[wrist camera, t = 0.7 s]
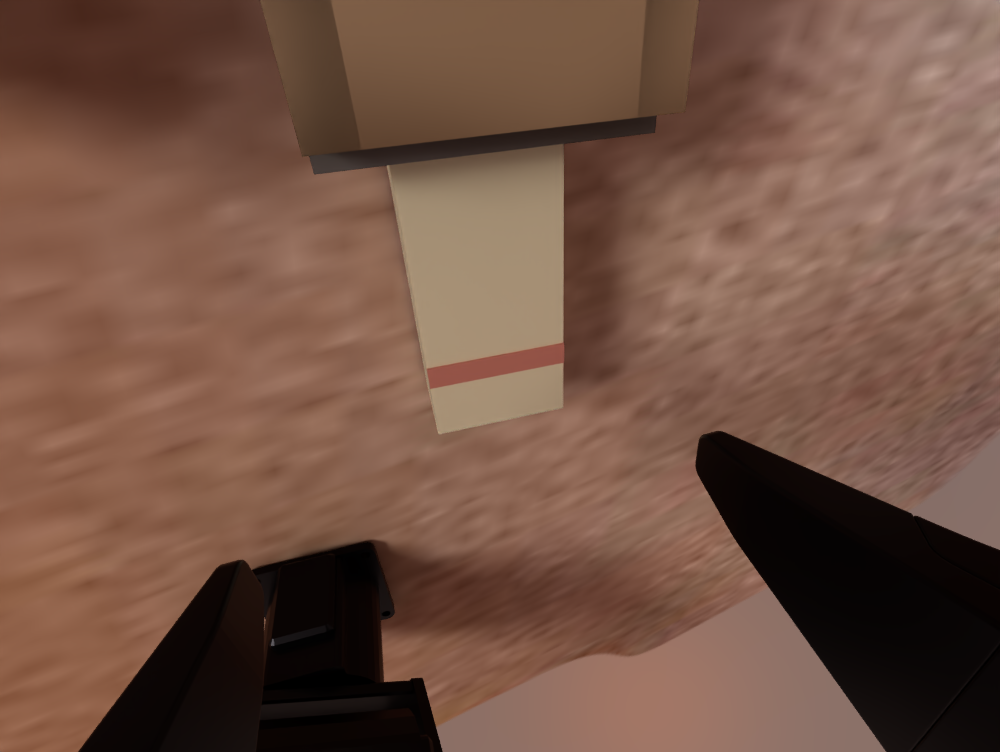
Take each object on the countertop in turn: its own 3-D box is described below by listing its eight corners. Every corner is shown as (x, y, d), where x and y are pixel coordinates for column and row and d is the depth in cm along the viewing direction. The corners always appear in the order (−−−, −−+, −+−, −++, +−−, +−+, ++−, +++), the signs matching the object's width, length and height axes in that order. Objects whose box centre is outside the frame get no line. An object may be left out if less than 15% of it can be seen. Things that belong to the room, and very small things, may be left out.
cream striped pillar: (536, 362, 23) (563, 409, 20) (427, 384, 22) (438, 436, 19) (523, -35, 15) (565, -54, 12) (352, -24, 14) (352, -43, 11)
